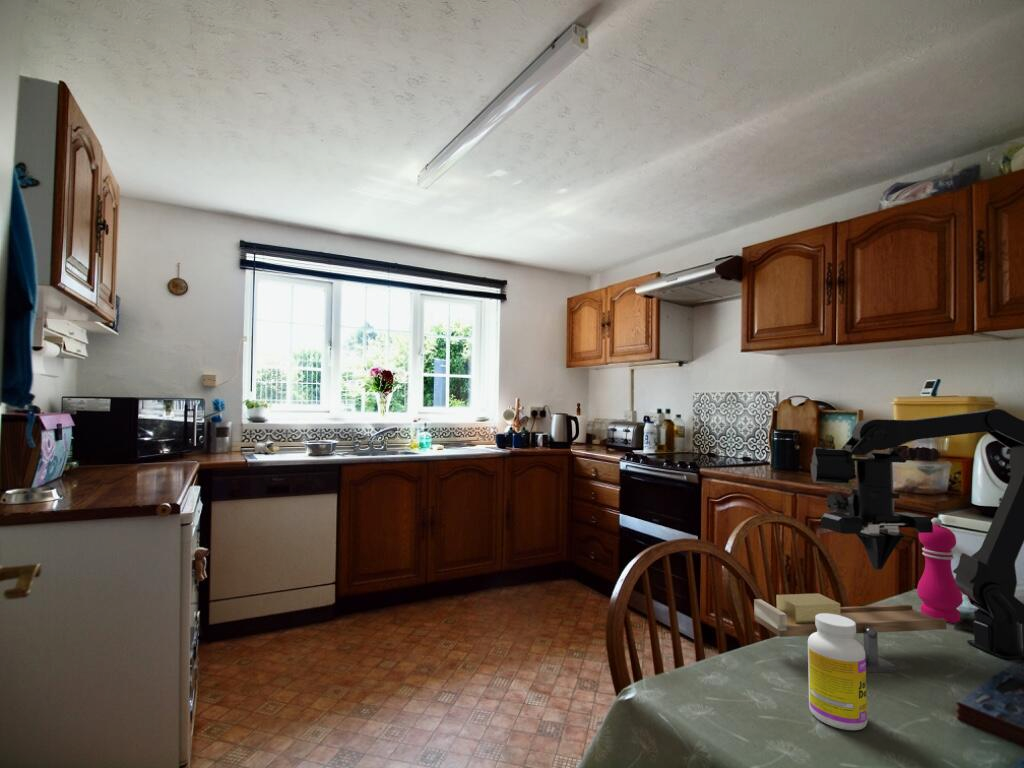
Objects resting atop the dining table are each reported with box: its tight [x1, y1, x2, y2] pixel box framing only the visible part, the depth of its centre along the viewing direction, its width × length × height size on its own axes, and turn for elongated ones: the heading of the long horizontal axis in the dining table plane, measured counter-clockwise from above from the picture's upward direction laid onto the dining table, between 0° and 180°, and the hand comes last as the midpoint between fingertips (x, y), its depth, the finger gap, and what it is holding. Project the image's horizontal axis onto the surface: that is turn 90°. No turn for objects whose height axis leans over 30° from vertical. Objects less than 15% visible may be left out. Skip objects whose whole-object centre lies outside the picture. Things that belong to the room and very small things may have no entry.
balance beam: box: [753, 598, 948, 638], centre depth 88 cm, size 30×7×4 cm, turn 97°
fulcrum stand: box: [862, 627, 897, 674], centre depth 88 cm, size 6×12×6 cm, turn 7°
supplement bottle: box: [807, 613, 868, 731], centre depth 70 cm, size 7×7×13 cm
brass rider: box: [775, 593, 841, 625], centre depth 88 cm, size 8×5×4 cm, turn 97°
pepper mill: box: [916, 517, 964, 624], centre depth 106 cm, size 7×7×20 cm
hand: (877, 569), depth 97 cm, fingers closed
